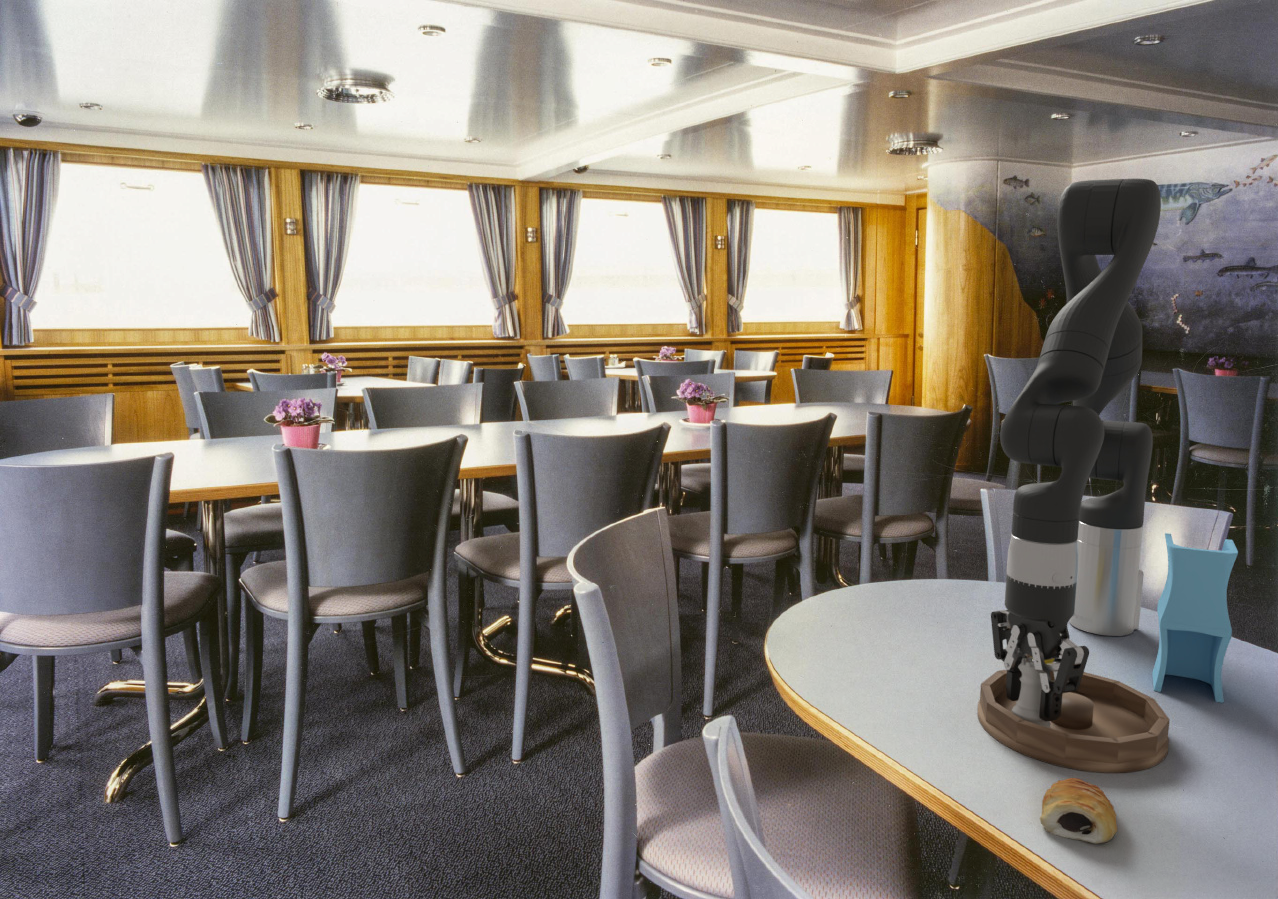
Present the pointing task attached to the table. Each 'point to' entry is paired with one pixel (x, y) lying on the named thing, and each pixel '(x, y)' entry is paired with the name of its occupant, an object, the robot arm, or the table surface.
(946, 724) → the table surface
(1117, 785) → the table surface
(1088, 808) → the pastry
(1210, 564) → the blue wavy stand
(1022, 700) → the rook chess piece
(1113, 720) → the ring tray
